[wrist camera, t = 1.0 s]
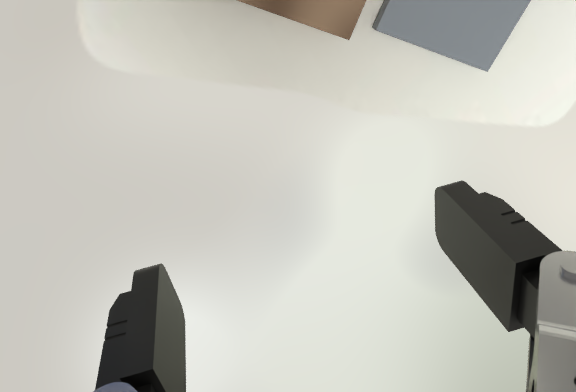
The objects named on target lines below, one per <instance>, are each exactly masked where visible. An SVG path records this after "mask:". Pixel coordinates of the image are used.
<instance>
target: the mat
mask: <svg viewBox="0 0 576 392" xmlns="http://www.w3.org/2000/svg"><path fill="white" fill-rule="evenodd" d="M530 1H531V0H384V2H383V5H382V7H381V9H380V11H379V13H378V16H377V18H376V20H375V22H374V25H373V28H374V29H375V30H376V31H379V32H382V33H384V34H387V35H390V36H393V37H395V38H398V39H401V40H403V41H406V42H409V43H411V44H414V45H417V46H419V47H422V48H425V49H428V50H430V51H433V52H436V53H438V54H441V55H444V56H446V57H449V58H452V59H455V60H457V61H460V62H463V63H465V64H468V65H471V66H473V67H476V68H479V69H481V70H484V71H487V72H488V70H489V69H490V67H491V65H492V64H493V62H494V60H495V59H496V57H497V55H498V54H499V52H500V50H501V49H502V47H503V45H504V44H505V42H506V41H507V39H508V37H509V36H510V34H511V32H512V31H513V29H514V27H515V26H516V24H517V22H518V21H519V19H520V17H521V16H522V14H523V13H524V11H525V9H526V8H527V6H528V4H529V3H530Z"/></svg>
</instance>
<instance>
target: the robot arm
mask: <svg viewBox="0 0 576 392" xmlns="http://www.w3.org/2000/svg"><path fill="white" fill-rule="evenodd" d="M435 231H436V236H437V239H438V242H439V244H440V246H441V248H442V250H443V251H444V252H445V254H446V255H447V256H448V257H449V259H450V260H451V261H452V262H453V264H454V265H455V266H456V267H457V268H458V270H459V271H460V272H461V273H462V275H463V276H464V277H465V279H466V280H467V281H468V282H469V283H470V285H471V286H472V287H473V288H474V290H475V291H476V292H477V293H478V295H479V296H480V297H481V298H482V299H483V301H484V302H485V303H486V305H487V306H488V307H489V308H490V310H491V311H492V312H493V313H494V315H495V316H496V317H497V318H498V319H499V321H500V322H501V323H502V325H503V326H504V327H505V328H506V329H507V331H508V332H510V331H514V330H517V329H520V328H524V327H525V329H526V330H527V331H528V332H529V333H530V339H529V351H528V366H527V382H526V392H576V252H575V251H562V250H561V249H560V248H559V247H558V246H556V245H555V244H554V243H553V242H552V241H550V240H549V239H548V238H547V237H546V236H545V235H543V234H542V233H541V232H540V231H539V230H538V229H536V228H535V227H534V226H533V225H532V224H531V223H529V222H528V221H525V218H524V217H522V216H521V215H520V214H519V213H518V212H515V210H514V209H513V208H512V207H511V206H509V205H508V204H507V203H506V202H505V201H504V200H502V199H500V198H498V197H495V196H493V195H490V194H488V193H486V192H484V193H480V194H478V193H477V192H476V191H475V190H474V189H473V188H472V187H470V186H469V185H468V184H467V183H466V182H464V181H459V182H455V183H452V184H448V185H445V186H441V187H437V188H436V190H435ZM94 392H186V360H185V319H184V313H183V309H182V305H181V303H180V300H179V298H178V296H177V293H176V291H175V289H174V287H173V285H172V282H171V280H170V278H169V276H168V273H167V271H166V269H165V267H164V266H163V264H158V265H154V266H151V267H147V268H143V269H140V270H136V271H135V272H134V275H133V282H132V289H131V291H129V292H126V293H122V294H120V295H119V296H118V298H117V299H116V301H115V302H114V304H113V306H112V307H111V309H110V311H109V317H108V322H107V329H106V333H105V341H104V344H103V350H102V355H101V361H100V366H99V371H98V377H97V383H96V388H95V391H94Z"/></svg>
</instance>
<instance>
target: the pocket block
mask: <svg viewBox="0 0 576 392" xmlns="http://www.w3.org/2000/svg"><path fill="white" fill-rule="evenodd" d="M238 1H241V2H243V3H246V4H249V5H252V6H255V7H257V8H260V9H263V10H266V11H269V12H272V13H274V14H277V15H280V16H283V17H286V18H288V19H291V20H294V21H297V22H300V23H303V24H305V25H308V26H311V27H314V28H317V29H319V30H322V31H325V32H328V33H331V34H334V35H336V36H339V37H342V38H345V39H348V40H349V39H350V37H351V35H352V32H353V30H354V28H355V25H356V23H357V21H358V18H359V16H360V14H361V11H362V9H363V7H364V4H365V2H366V0H238Z"/></svg>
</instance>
